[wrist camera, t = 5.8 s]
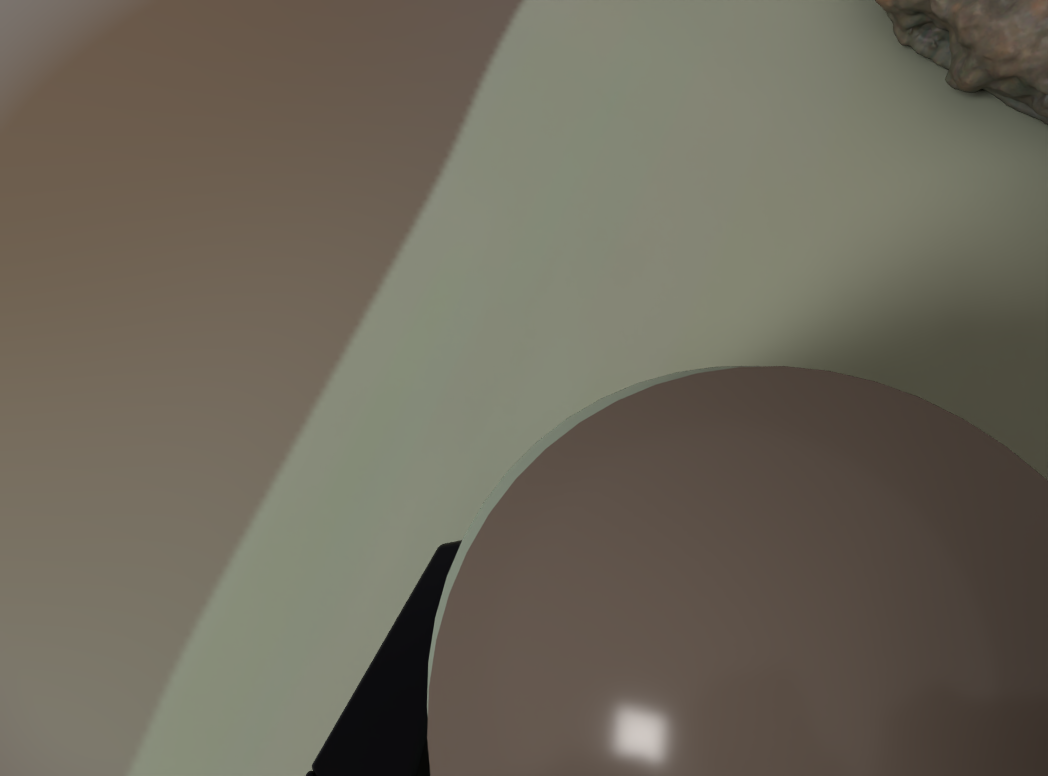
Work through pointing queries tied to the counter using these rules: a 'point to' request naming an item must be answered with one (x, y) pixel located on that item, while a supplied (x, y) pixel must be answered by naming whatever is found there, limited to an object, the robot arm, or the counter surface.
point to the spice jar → (749, 591)
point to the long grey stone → (982, 45)
